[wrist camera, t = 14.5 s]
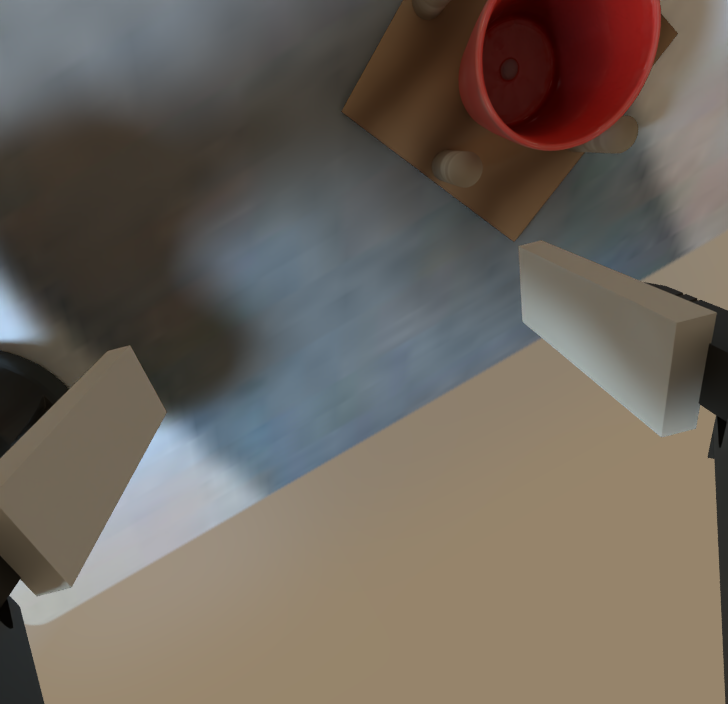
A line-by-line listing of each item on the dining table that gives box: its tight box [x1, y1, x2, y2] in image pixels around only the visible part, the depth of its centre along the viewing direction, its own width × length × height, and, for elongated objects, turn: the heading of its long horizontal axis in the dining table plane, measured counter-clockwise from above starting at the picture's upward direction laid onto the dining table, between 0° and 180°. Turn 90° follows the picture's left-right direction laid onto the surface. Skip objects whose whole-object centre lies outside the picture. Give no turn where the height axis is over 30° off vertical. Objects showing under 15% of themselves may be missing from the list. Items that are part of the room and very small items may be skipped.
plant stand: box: [341, 0, 678, 241], centre depth 30 cm, size 19×19×7 cm
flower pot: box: [458, 0, 661, 151], centre depth 28 cm, size 11×11×10 cm
